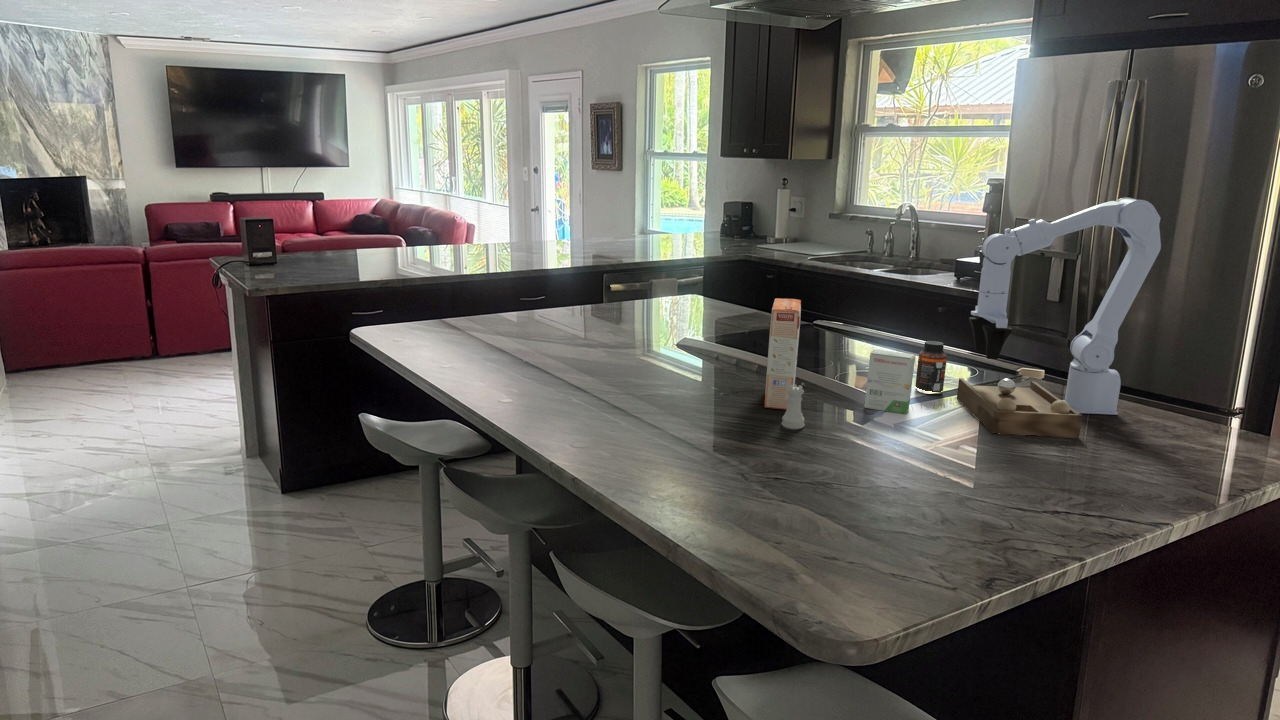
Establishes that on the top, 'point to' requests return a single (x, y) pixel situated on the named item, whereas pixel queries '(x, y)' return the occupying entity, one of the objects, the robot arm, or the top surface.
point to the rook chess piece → (794, 409)
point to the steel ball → (1006, 386)
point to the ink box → (889, 381)
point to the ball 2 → (1060, 407)
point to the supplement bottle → (931, 367)
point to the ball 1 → (1006, 405)
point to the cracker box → (782, 351)
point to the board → (1019, 411)
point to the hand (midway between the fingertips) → (986, 354)
